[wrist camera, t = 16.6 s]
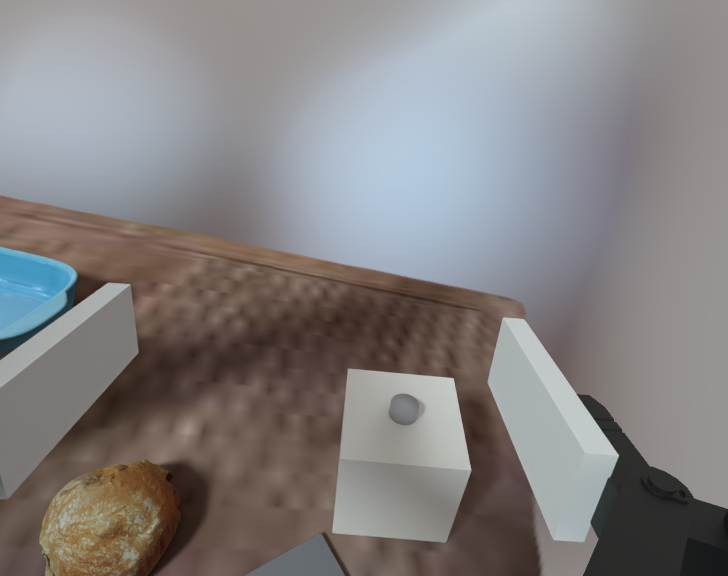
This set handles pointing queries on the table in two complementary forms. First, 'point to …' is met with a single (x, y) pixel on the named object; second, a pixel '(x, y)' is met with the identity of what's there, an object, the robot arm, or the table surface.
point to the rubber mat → (303, 561)
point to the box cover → (400, 457)
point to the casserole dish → (32, 295)
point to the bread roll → (111, 522)
